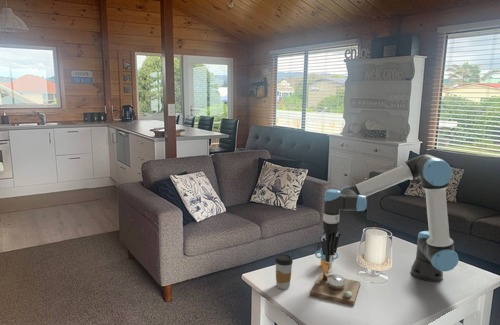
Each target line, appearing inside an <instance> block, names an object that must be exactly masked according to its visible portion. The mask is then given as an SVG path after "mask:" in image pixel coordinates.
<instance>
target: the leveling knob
mask: <svg viewBox="0 0 500 325" xmlns="http://www.w3.org/2000/svg"><path fill="white" fill-rule="evenodd" d="M329 269H330V268H329V264H328V263H324V264H323V267H322V274H323V279H325V280H327V279H328V283H327V286H328V287H329V288H330V289H333V290H343V289H344V288H345V279H346V278H345V276H344V275H340V274H336V273H335V274H334V273H331V272H329Z"/></svg>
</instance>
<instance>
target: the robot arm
mask: <svg viewBox="0 0 500 325" xmlns="http://www.w3.org/2000/svg"><path fill="white" fill-rule="evenodd" d="M452 175H453V169H452V167H451V166H450V164H449V163H448V162H446V161H445V160H444V159H442V158H440V157H436V156H434V155H431V154H421V155H418V156H415V157H413V158H411V159H408V160H406V161H404V162H402V164H401V165H400V166H399V165H398V166H397V167H394V168H392V169H389V170H387V171H385V172H383V173H381V174H378V175H376V176H373V177H371V178H369V179H366V180H364V181H361V182H359V183H357V184H354V185H351V186H344V187H342V188H341V189H340V190H339V189H333V188H331V189H326V190H325V192H324V198H323V218H322V219H323V221H322V229H323V235H322V236H320V237H319V240H320V244H321V248H322V250H321V251H322V252H323V254H324V255H326V263H328V264H329V269H332V268H333V262H332V260H333V257H334V256H335V255H336V254H335V253H337V250H338V245H339V240H340V237H341V233H340V232H339V229H340V214H341V212H340V211H351V212H352V211H353V212H364V211H365V210H366V209H367V202H368V201H367V198H366V197H369V196H371V195H373V194H375V193H377V192H382V191H383V190H385V189H388V188H390V187H392V186H396V185H398V184H400V183H403V182H406V181H408V180H410V181H413V180H415V179H419V178H420V184H421V188H422V189H423V190H424V191H425V202H426V215H427V223H428V230H424V231H423V230H422V231H419V232H418V235H417V245H416V256H415V259H414V261H413V264H412V265H411V268H410V273H411V275H413V276H414V277H416V279H417V278H418V279H420V280H423V281H427V282H439V281H441V280H443V278H444V277H443V276H444V273H443V272H450V271H452V270H454V269H455V268H456V267H457V266H458V264H459V261H460V260H459V256H458V253H457V252H456V251H455V246H454V244H455V243H454V240H453V239H452V238H451V237H450V230H449V229H450V228H449V216H448V206H447V205H448V204H447V188H449V187H450V184H449V182H450V180H451V179H452V177H453V176H452Z"/></svg>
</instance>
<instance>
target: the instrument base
mask: <svg viewBox="0 0 500 325" xmlns="http://www.w3.org/2000/svg"><path fill="white" fill-rule="evenodd" d="M313 283H314V284H313V285H312V287H311V289H310V291H309V297H313V298H314V297H315V298H317V299H323V300H328V301H331V302H336V303H340V304H344V305H350V306H355V304H356V300H357V297H358V294H359V291H360V289H361V288H360V287H361V281H359V280H354V279H349V278H345V288H344V289H343V290H333V289H330V288H329V287H328V286H327V283H328V279H327V280H325V279H323V273H319V275H318V277H317V279H316V280H315V281H314V282H313Z"/></svg>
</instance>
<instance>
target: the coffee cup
mask: <svg viewBox="0 0 500 325" xmlns="http://www.w3.org/2000/svg"><path fill="white" fill-rule="evenodd" d="M274 262H275V280H276V283H275V284H276V287H277V288H278V289H280V290H288V289H289V288H290V285H291V277H292V270H293V269H292V267H293V257H292V256H291V255H290V254H285V253H280V254H277V255H276V257H275V260H274Z"/></svg>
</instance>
